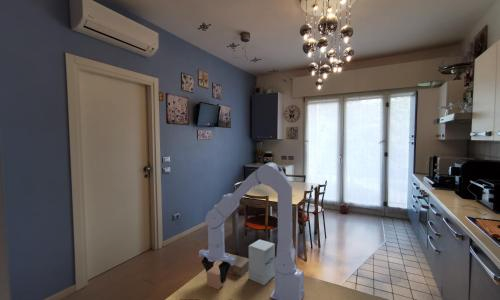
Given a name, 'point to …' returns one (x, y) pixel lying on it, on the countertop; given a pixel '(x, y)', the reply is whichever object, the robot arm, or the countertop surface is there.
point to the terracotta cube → (214, 278)
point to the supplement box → (261, 261)
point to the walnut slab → (239, 266)
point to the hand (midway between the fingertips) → (216, 279)
